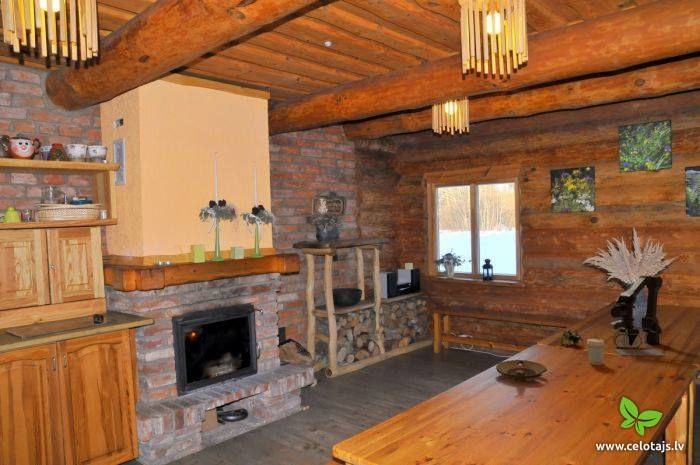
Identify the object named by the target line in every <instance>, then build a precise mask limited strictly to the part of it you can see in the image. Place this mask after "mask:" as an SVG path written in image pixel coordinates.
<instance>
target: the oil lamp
mask: <svg viewBox="0 0 700 465" xmlns="http://www.w3.org/2000/svg"><path fill="white" fill-rule="evenodd" d="M504 361H505V362H504ZM504 361H502V362H499V363H497V365H496V366H495V370H496V372H498V373H499V374H501V375H502V376H504V377H507V378H509V379H512V380H515V381H517V382H520V383H521V382H524V381H529V380H534V379H537V378H540V377H542V376H543V375H544V373H545V372H547V371H548V368H547V367H546V366H545V365H544V364H541V363H539V362H534V361H532V360H527V359H525V360H523V359H522V360H521V359H513V360H504Z"/></svg>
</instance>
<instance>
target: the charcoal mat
mask: <svg viewBox="0 0 700 465" xmlns="http://www.w3.org/2000/svg"><path fill="white" fill-rule="evenodd" d="M612 351H613V352H614V353H616V352H617V354H618V355H620V356H621V357H625V356H626V357H666V355H665V354H664V353H662V352H660V351H658V350H656V349H633V348H619V349H618V348H617V349H616V348H614V349H612Z"/></svg>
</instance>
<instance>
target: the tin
mask: <svg viewBox="0 0 700 465" xmlns="http://www.w3.org/2000/svg"><path fill="white" fill-rule="evenodd" d="M612 343H613V344H614V345H615V346H616V347H618V348H619V349H637V348H639V347H640V346H641V345H642V343H643V340H642V336H640V334H638V335H637V337H636V339H635V341H634V342H633V344H632V346H630V345H629V339H628V336H627V335H626V334H625V333H621V332H617V333H616V334H614V335H613V337H612Z"/></svg>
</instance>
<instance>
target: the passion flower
mask: <svg viewBox="0 0 700 465" xmlns="http://www.w3.org/2000/svg"><path fill="white" fill-rule="evenodd" d="M557 340H558V343H560V344H563V343H564V344H567V346H570V344H571V343H573V344H574V345H579V344H580V343H579V342H580V341H581V342H584V341H585V340H584V339H582V336H581V335H580V333H578V331H577V329H576V330H575V329H570V328H568V330H566V331H565V330H562V336H558V338H557ZM566 341H567V342H566Z"/></svg>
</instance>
